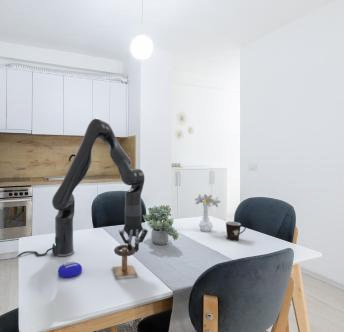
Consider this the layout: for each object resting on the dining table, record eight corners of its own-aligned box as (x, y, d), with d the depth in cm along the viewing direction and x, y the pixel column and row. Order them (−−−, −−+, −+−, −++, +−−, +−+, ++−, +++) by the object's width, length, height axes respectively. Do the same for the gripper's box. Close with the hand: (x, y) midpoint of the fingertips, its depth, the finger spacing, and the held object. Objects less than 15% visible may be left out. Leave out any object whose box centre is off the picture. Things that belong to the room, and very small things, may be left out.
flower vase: (222, 230, 171) (222, 194, 169) (204, 234, 161) (205, 197, 159) (206, 225, 181) (207, 192, 180) (189, 229, 171) (190, 194, 170)
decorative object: (78, 254, 113) (84, 266, 104) (79, 265, 114) (84, 278, 105) (55, 259, 109) (59, 271, 100) (56, 270, 110) (59, 284, 101)
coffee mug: (225, 240, 150) (225, 224, 150) (225, 236, 158) (225, 220, 158) (246, 243, 146) (247, 226, 145) (245, 238, 154) (245, 222, 153)
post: (116, 279, 104) (116, 253, 103) (113, 269, 113) (112, 245, 112) (136, 277, 106) (137, 251, 105) (131, 267, 114) (131, 244, 114)
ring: (116, 258, 103) (116, 253, 103) (112, 249, 112) (112, 245, 112) (138, 255, 105) (138, 251, 105) (132, 247, 114) (132, 243, 114)
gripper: (145, 210, 114) (145, 247, 115) (116, 212, 111) (116, 249, 112) (150, 214, 106) (150, 253, 107) (119, 216, 103) (119, 256, 104)
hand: (133, 251), depth 109 cm, fingers closed on ring, 2 cm apart
